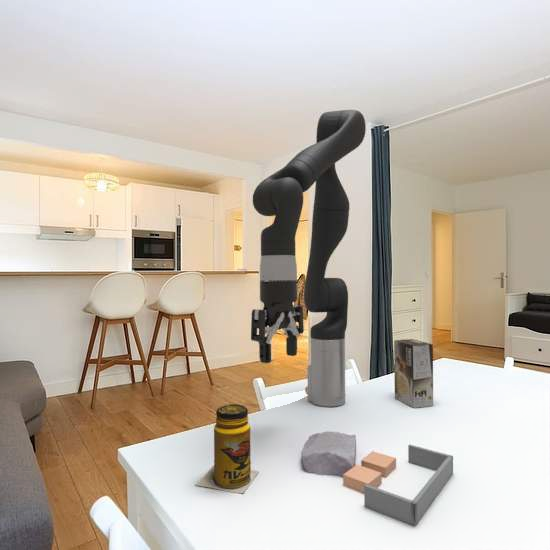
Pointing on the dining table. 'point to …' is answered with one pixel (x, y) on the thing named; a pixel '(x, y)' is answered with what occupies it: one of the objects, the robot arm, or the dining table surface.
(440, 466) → the frame
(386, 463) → the tile
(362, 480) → the tile
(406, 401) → the coffee box
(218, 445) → the condiment
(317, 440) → the stone block
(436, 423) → the dining table surface
